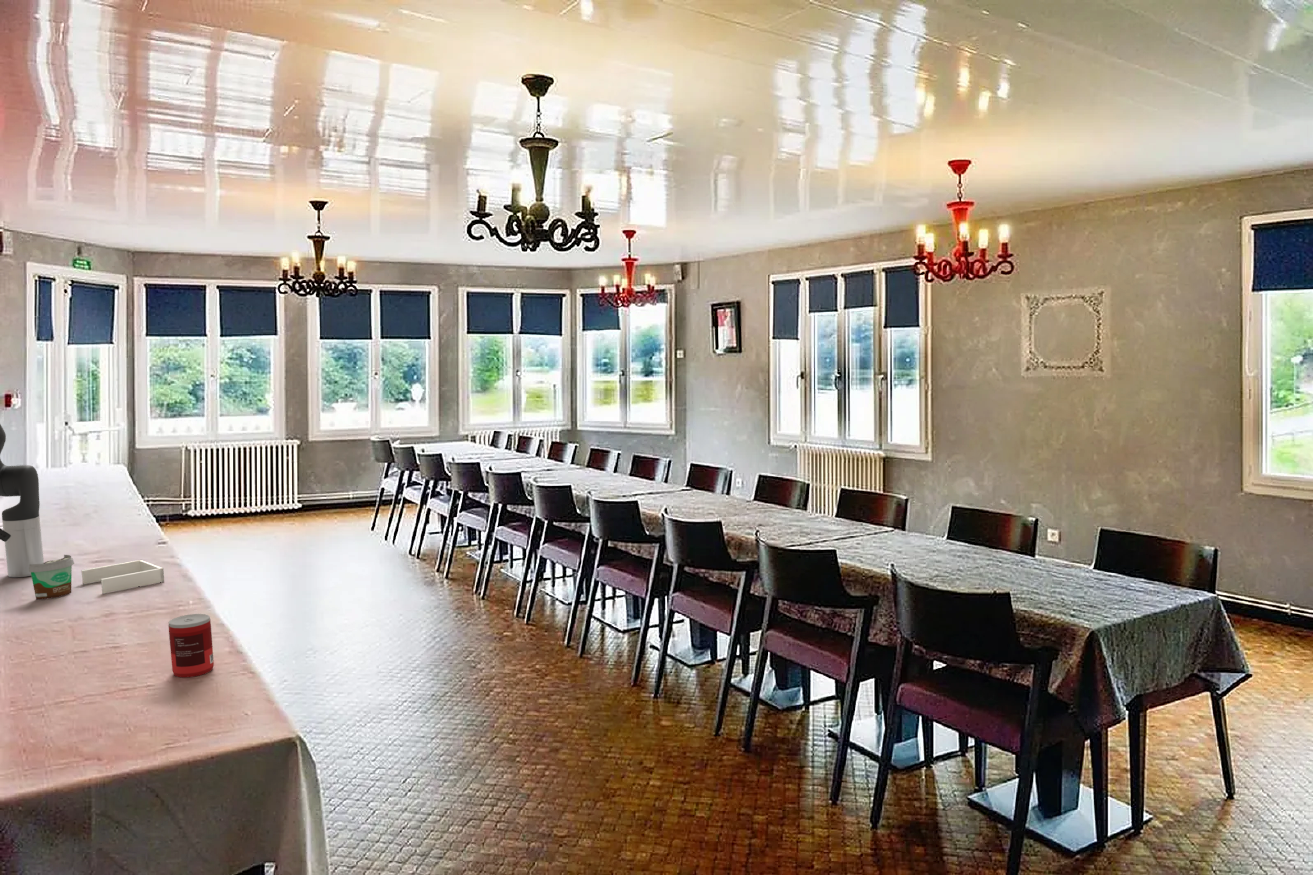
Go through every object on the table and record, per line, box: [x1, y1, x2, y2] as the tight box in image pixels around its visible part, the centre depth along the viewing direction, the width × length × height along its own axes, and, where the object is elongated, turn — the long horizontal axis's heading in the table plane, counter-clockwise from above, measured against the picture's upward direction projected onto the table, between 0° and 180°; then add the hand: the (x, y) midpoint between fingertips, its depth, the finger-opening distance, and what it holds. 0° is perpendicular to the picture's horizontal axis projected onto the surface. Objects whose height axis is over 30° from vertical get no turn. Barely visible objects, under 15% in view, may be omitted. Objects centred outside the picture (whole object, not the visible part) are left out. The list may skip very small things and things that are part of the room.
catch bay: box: [81, 559, 165, 595], centre depth 263 cm, size 18×16×4 cm
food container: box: [28, 554, 75, 601], centre depth 251 cm, size 12×6×10 cm, turn 168°
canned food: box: [167, 613, 215, 679], centre depth 187 cm, size 8×8×11 cm
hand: (5, 537), depth 241 cm, fingers open, 3 cm apart
